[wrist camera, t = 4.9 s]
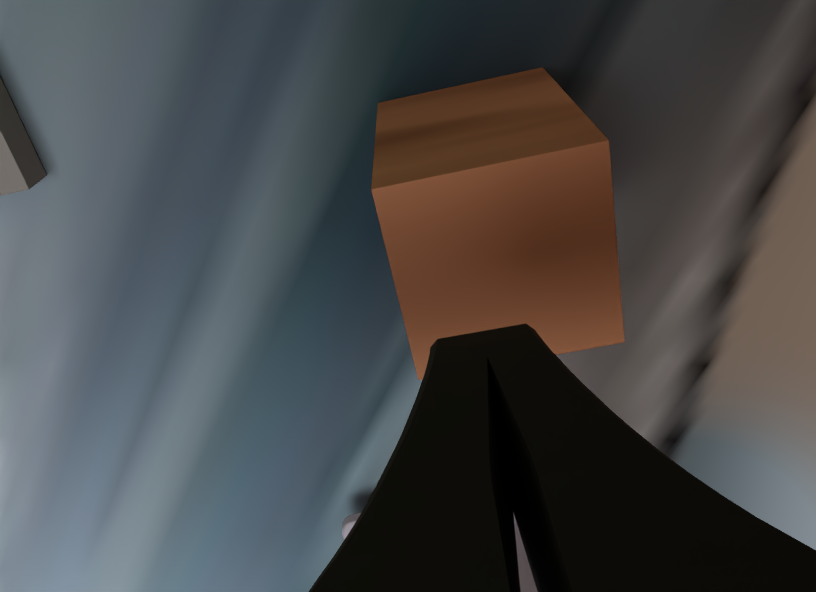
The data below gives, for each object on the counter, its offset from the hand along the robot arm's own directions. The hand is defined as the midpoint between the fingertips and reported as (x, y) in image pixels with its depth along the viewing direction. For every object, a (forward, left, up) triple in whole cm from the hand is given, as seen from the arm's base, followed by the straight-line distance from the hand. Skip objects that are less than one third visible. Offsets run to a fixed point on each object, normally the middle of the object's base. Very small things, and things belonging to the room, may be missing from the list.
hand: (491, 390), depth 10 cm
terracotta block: (0, -1, -9) cm, 9 cm away
